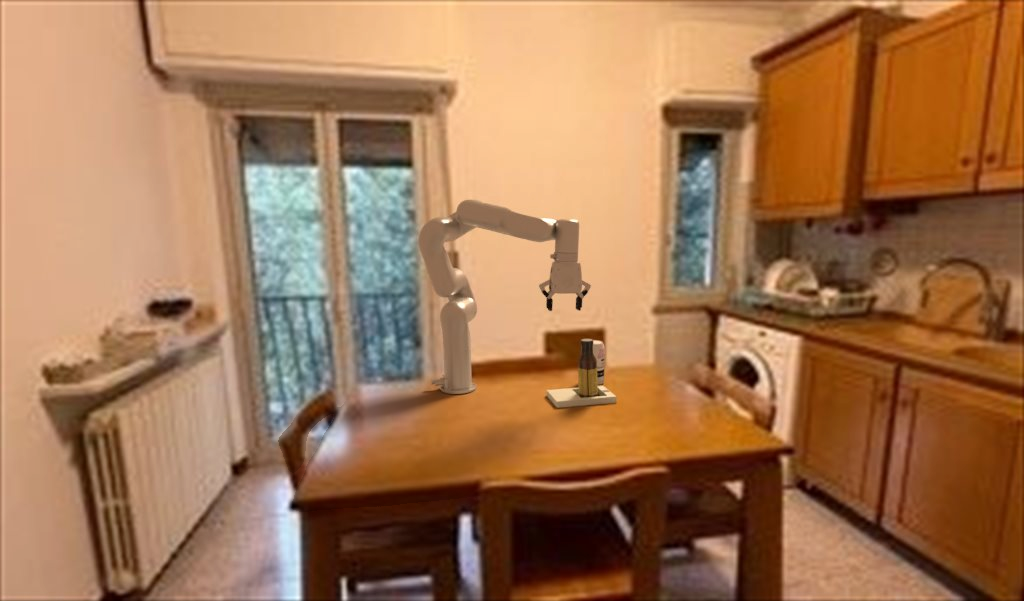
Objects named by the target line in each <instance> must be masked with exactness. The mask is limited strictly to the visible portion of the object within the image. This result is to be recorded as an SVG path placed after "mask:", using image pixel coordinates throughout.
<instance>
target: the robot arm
mask: <svg viewBox="0 0 1024 601" xmlns="http://www.w3.org/2000/svg"><path fill="white" fill-rule="evenodd" d="M475 228H478V229H482V230H487V231H490V232H495V233H498V234H502V235H507V236H511V237H514V238H517V239H521V240H526V241H529V242H530V241H531V242H535V243H544V242H549V241H554V253H552V254H550V256H549V257H550V259H553V261H552V262H551V267H550V272H549V279H547V280H545V281H543V282H542V283H540V284H538V288H539V290H540V291H541V293H542V294H543V295H544V297H545V298H546V302H545V303H546V304H545V305H546V309H547V310H548V311H549V312H552V311H553V303H554V302H553V296H554V295H555V294H558V295H559V294H560V295H561V294H564V295H565V294H575V295H576V297H575V310H577V311H581V310H582V308H583V299H584V298H585V296H586V295H587V294H588V293H589V291H590V289H591V288H592V285H591V284H590V283H588V282H586V281H584V280H583V279H582V278H583V276H582V275H583V274H582V265H581V262H579V241H580V240H579V238H580V222H579V221H578V220H577V219H567V218H565V219H563V218H562V219H554V218H551V217H550V218H549V217H536V216H531V215H527V214H522V213H519V212H516V211H513V210H512V209H510V208H508V207H505V206H500V205H497V204H491V203H487V202H483V201H481V200H477V199H465V200H463V201H461V202H460V203H459V204H458V206H457V208H456V211H455V212H453V213H451V214H450V215H449V216H439V217H435V218H432V219H430V220H428V221H427V222H425V224H424V225H423V226H422V227H421V229H420V232H419V235H418V247H419V251H420V253H421V254H420V255H421V256H422V258H423V262H424V265H425V267H426V270H427V274H428V276H429V279H430V281H431V286H432V288H433V289H434V290H433V291H434V292H435V294H436V295H437V296H438V297H440V298H445V299H446V298H447V300H448V301H447V303H445V304H444V305H443V306H442V308H441V310H440V315H439V318H440V319H439V321H440V326H441V331H442V334H441V335H442V346H443V347H442V348H443V352H442V353H443V375H442V377H439V378H431V379H430V382H431V385H435V386H436V387H438V386H440V387H439V389H440V391H441V392H442V393H444V394H450V395H462V394H463V395H464V394H468V393H472V392H474V391H475V390H476V389H477V384H476V382H473V381H472V348H471V347H472V346H471V342H472V340H471V331H470V327H469V326H470V325H469V322H471V321H472V320H474V318H475V317H476V316H477V312H478V307H477V301H476V299H475V296H474V293H473V289H472V287H471V284H470V282H469V279H468V277H467V275H466V274H465V273H464V271H462V270H461V269H460V268H456V267H453V264H452V262H451V258H450V255H449V254H448V252H447V250H446V248H445V247H444V246H445V245H444V243H449V242H453V241H456V240H458V239H459V238H461V237H463V236H465V235H466V234H468V233H469V232H472V230H474V229H475ZM546 287H548V291H546V290H547V289H545V288H546ZM583 287H584V288H583ZM582 289H583V290H582Z"/></svg>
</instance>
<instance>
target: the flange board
mask: <svg viewBox="0 0 1024 601" xmlns="http://www.w3.org/2000/svg"><path fill="white" fill-rule="evenodd" d="M598 395H599V396H598ZM546 397H547V398H548V399H549V401H550V402H552V404H553V405H554V406H555V407H556V408H558V409H559V408H571V407H580V406H589V405H590V406H593V405H603V404H612V403H613V404H614V403H617V396H616V395H615V394H614V393H613V392H611V391H610V390H609V389H608V388H607V387H605V386H604V385H598V393H597V397H586V398H581V397H580V396H579V387H568V388H557V389H546Z"/></svg>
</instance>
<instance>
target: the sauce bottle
mask: <svg viewBox="0 0 1024 601" xmlns="http://www.w3.org/2000/svg"><path fill="white" fill-rule="evenodd" d="M593 340H594V339H593V338H583V339H580V346H581V347H582V351H580V356H579V357H578V360H577V362H578V367H577V368H578V370H577V373H578V388H579V395H578V396H580V397H581V398H586V397H598V386H599V385H597V360H596V358H595V356H594V354H593ZM581 352H582V353H581Z"/></svg>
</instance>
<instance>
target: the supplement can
mask: <svg viewBox="0 0 1024 601" xmlns="http://www.w3.org/2000/svg"><path fill="white" fill-rule="evenodd" d="M592 340H593V354H594V356H595V358H596V360H597V385H598V386H602V384H603V383H604V382H605V355H606V353H605V352H606V348H605V347H606V346H605V345H604V342H603V341H602V340H599V339H598V340H597V339H592ZM580 349H581V351H582V347H581V348H580ZM581 351H580V354H581V353H582V352H581Z"/></svg>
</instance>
